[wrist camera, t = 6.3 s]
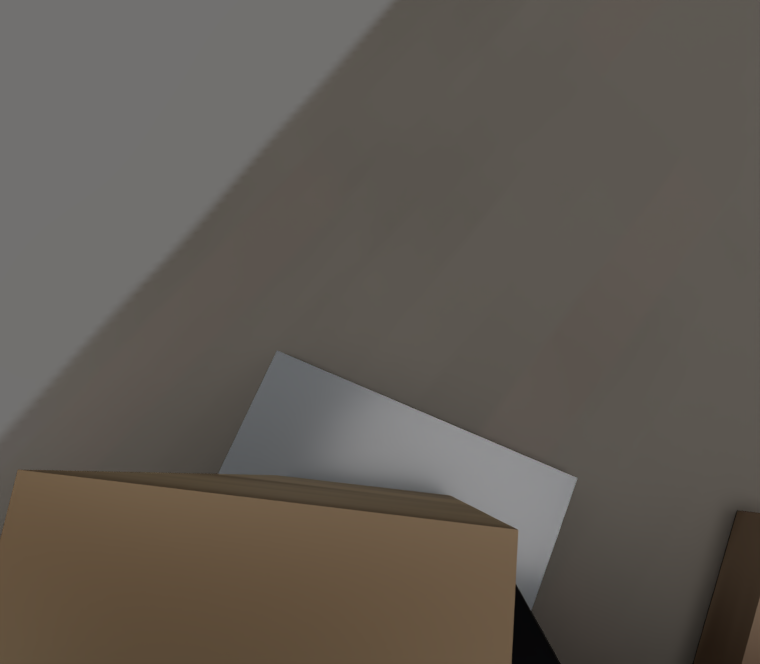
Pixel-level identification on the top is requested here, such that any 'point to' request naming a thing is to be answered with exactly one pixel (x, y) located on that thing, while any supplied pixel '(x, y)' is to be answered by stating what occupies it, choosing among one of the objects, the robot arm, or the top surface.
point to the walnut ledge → (735, 600)
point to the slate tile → (397, 455)
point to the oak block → (249, 572)
